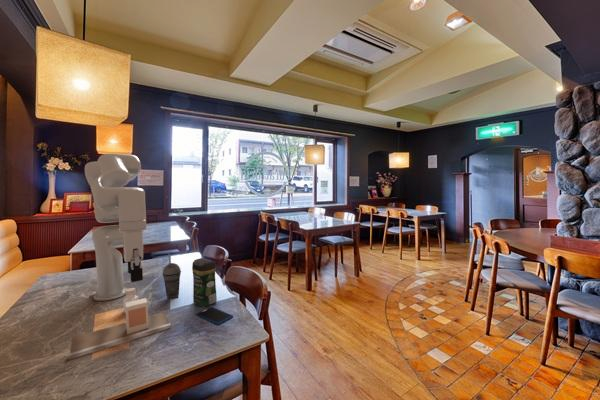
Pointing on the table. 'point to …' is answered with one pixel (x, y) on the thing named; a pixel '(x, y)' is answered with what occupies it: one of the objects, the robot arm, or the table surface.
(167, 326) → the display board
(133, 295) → the pepper shaker
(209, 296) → the coffee jar
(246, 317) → the table surface
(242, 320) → the table surface
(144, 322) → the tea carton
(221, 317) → the cell phone
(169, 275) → the beverage cup
